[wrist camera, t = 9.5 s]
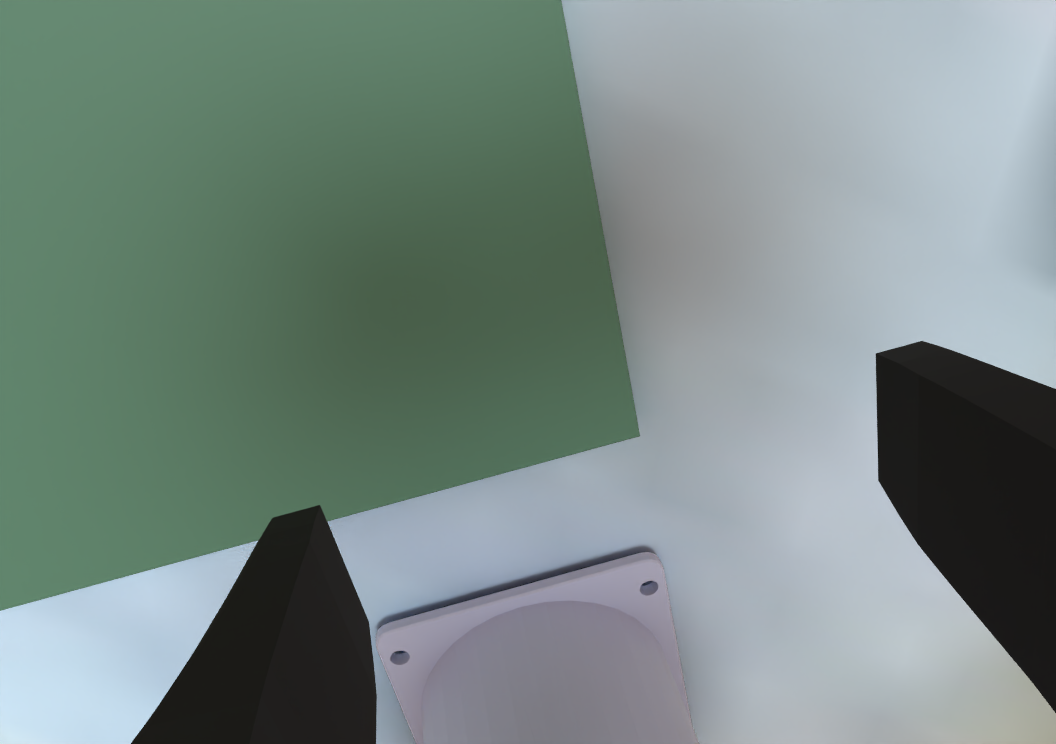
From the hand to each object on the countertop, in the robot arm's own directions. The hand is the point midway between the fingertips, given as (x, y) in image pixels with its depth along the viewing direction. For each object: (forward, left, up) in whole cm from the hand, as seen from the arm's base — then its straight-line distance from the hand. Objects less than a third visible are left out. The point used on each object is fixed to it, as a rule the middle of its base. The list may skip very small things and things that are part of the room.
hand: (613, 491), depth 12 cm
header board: (+4, +10, -10) cm, 15 cm away
